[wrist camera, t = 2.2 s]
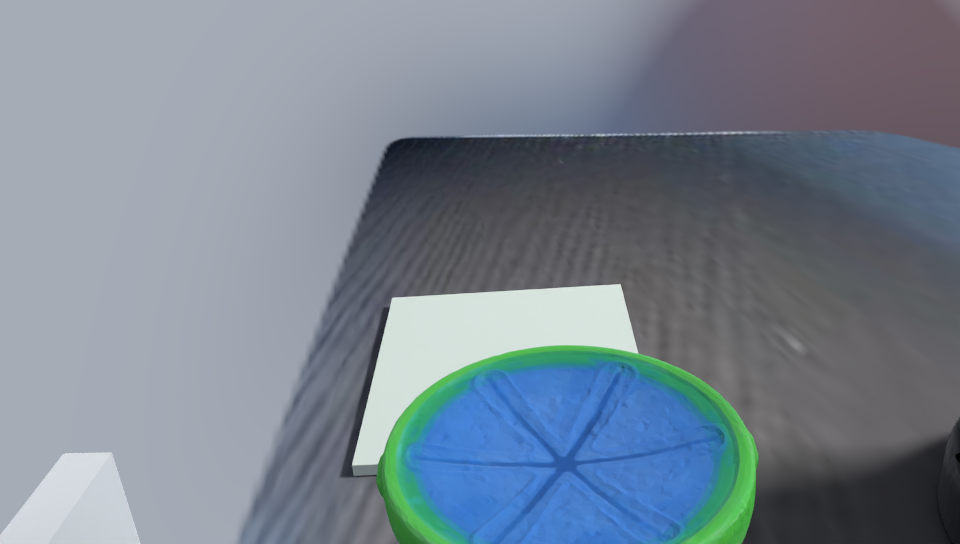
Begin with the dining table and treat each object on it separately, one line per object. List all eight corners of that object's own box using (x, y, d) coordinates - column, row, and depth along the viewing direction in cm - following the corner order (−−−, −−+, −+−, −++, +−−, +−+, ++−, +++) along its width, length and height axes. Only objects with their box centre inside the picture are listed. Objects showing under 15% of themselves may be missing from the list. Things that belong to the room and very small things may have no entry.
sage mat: (393, 306, 54) (392, 297, 54) (620, 292, 53) (620, 284, 53) (353, 476, 40) (351, 465, 40) (662, 461, 39) (663, 450, 39)
